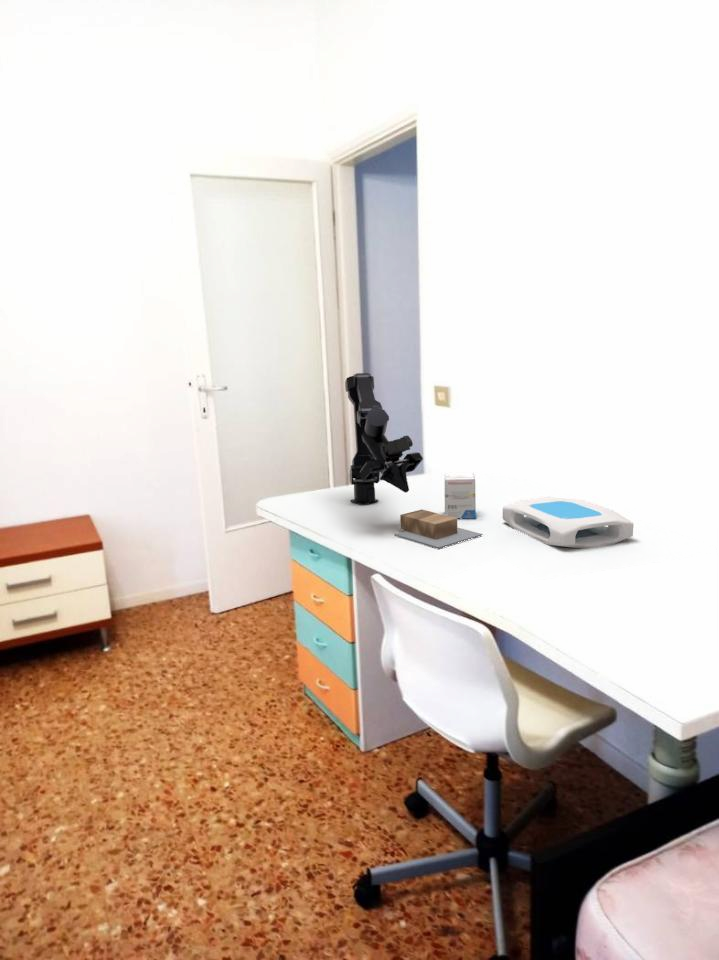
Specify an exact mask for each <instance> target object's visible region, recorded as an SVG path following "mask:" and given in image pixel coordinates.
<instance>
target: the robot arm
mask: <svg viewBox="0 0 719 960" xmlns="http://www.w3.org/2000/svg"><path fill="white" fill-rule="evenodd" d="M374 378H375V377H374V376H373V375H371V373H369V372H362V373H359V372H358V373H355V374H353V375H351V376H348V377H346V379H345V382H344V383H345V384H344V387H345V388H344V389H345V392H347V398H348V400H349V402H351V404H352V405H353V417H354V419H353V421H354V431H355V432H354V433H355V434H354V436H355V450H356V452H355V454H354V456H353V458H352V460H351V465H350V468H349V482H350V484H351V485H352V486H353V492H354V493H353V495H354V499H350V503H354V502H355V503H354V504H358V503H359V505H362V504H365V505H369V504H374V503H377V502H379V499H377V498H376V487H375V484H379V483H380V481H384V482H386V483H387V484H390V485H392V486H394V487H395V488H397V489H398V490H400V491H402V493H408V492H410V487H409V482H408V478H407V473H411V472H413V471H415V470H416V469H417V467H418V466H419V465H420V463H421V462H423V460H424V457H422V455H421V453H420V452H417V451H415V452H409V453H407V454H406V455H405V456H404V458H403V459H400V458H402V457H403V455H404V452H406V451H410V450H411V447H413V440H412V438H411V437H410V436H409V435H403V436H402V437H400V438H397V439H394V440H390V441H389V440H388V438H387V436H386V431H387V426H388V423H389V421H390V416H389V415H388V413H387V411H386V410H385V409H383V406H382V404H381V402H380V401H378V400H376V397H375V394H374V393H375V392H374V390H375V381H374V380H375V379H374ZM380 474H381V476H380ZM373 502H374V503H373ZM368 503H369V504H368Z"/></svg>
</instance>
